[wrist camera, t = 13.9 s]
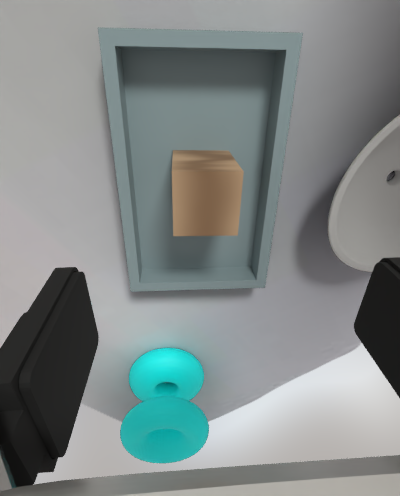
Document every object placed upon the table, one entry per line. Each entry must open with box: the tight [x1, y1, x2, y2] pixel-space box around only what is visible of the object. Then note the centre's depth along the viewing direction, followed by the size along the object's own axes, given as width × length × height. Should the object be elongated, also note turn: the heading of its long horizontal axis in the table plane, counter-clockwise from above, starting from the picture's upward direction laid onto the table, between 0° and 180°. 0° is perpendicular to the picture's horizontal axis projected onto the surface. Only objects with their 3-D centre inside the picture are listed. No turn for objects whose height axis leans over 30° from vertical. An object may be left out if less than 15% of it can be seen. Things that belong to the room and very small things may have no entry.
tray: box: [98, 28, 303, 292], centre depth 27 cm, size 14×22×3 cm, turn 179°
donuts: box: [120, 348, 209, 463], centre depth 37 cm, size 10×10×10 cm
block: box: [172, 150, 244, 236], centre depth 25 cm, size 5×5×7 cm
